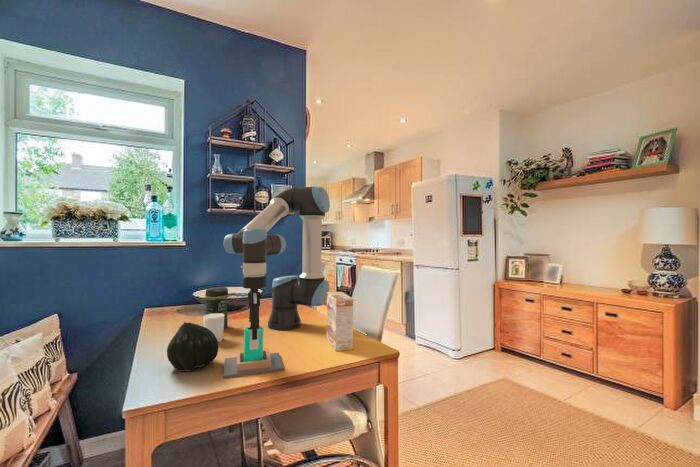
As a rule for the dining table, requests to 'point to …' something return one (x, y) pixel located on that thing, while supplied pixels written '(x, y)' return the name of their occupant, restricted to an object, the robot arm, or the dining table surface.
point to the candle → (254, 353)
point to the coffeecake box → (340, 321)
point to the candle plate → (252, 365)
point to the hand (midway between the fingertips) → (253, 345)
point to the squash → (192, 347)
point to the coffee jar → (217, 302)
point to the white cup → (215, 324)
